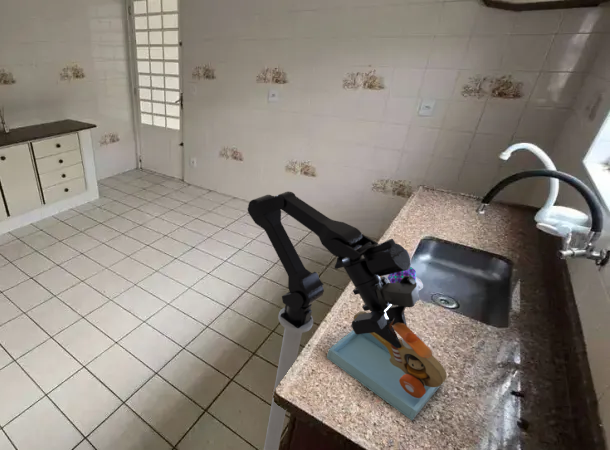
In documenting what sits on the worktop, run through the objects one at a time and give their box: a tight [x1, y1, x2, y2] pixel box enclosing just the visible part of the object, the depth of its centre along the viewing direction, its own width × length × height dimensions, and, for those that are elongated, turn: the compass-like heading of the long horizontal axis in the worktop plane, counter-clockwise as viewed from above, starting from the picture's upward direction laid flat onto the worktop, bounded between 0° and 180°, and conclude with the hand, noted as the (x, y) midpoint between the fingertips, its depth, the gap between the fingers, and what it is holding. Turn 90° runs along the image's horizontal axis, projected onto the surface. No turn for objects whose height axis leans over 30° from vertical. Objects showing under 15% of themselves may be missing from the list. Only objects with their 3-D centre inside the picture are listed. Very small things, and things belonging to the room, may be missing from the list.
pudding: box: [381, 266, 424, 292], centre depth 114 cm, size 12×12×5 cm
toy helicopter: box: [353, 310, 448, 398], centre depth 78 cm, size 8×21×14 cm, turn 29°
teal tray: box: [326, 329, 442, 421], centre depth 84 cm, size 21×15×3 cm
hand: (403, 342), depth 77 cm, fingers closed on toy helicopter, 4 cm apart
